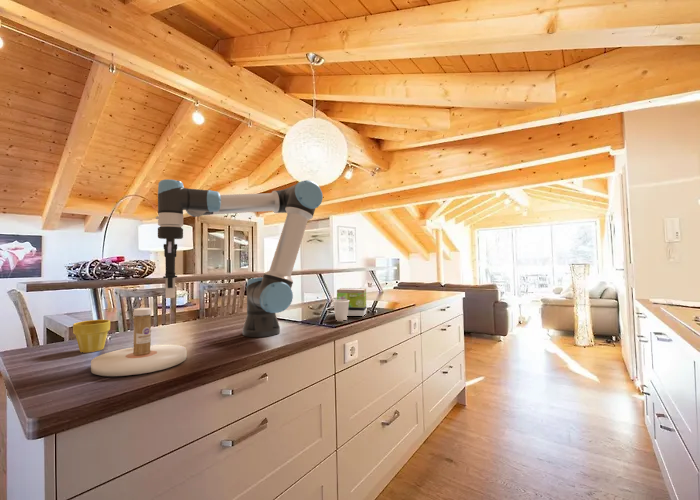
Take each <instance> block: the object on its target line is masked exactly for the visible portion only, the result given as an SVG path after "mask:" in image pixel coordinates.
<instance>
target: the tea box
mask: <svg viewBox="0 0 700 500" xmlns="http://www.w3.org/2000/svg"><path fill="white" fill-rule="evenodd" d="M336 300H349V306H348V316H364V315H365V314H366V315H367V288H355V287H353V288H352V287H349V288H348V287H347V288H346V287H345V288H344V287H341V288H338V289H337V290H336ZM366 315H365V316H366ZM365 316H364V317H365Z"/></svg>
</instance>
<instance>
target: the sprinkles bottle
mask: <svg viewBox="0 0 700 500" xmlns="http://www.w3.org/2000/svg"><path fill="white" fill-rule="evenodd" d="M132 315H133V334H132V337H133V339H132V340H133V341H132V342H133V343H132V344H133V347H134V352H133V355H136V356H139V355H146V354H149V353H150V352H151V351H150V341H151V342H152V330H151V321H152V320H151V316H152V307H138V308H134V309H133V314H132Z"/></svg>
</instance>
